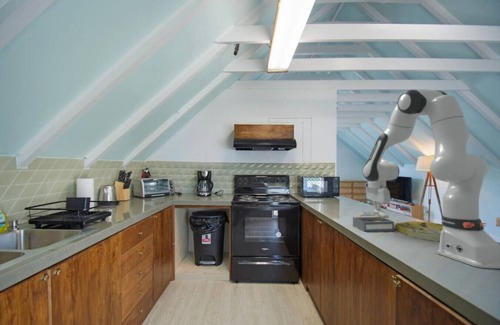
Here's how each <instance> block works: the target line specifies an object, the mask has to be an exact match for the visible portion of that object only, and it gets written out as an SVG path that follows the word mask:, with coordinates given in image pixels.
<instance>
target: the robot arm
mask: <svg viewBox="0 0 500 325" xmlns="http://www.w3.org/2000/svg"><path fill="white" fill-rule="evenodd" d="M420 116H428V118H429V122H430V126H431V130H432V133H433V134H432V135H433V138H434V154H433V155H434V157H433V160H432V161H431V163H430V166H429V171H430V173H431V175H432V176H433V178H435V179H436V180H438V181H442V182H445V183H448V186H447V188H446V191H445V193H444V194H443V196H442V216H441V224H442V225H443V229H442V231H441V235H440V242H439V247H438V249H437V251H436V253H437V254H438V255H441V256H443V257H446V258H449V259H452V260H455V261H458V262H460V263H464V264H467V265H469V266H472V267H475V268H483V269H500V244H499V243H498V242H497V241H496V240H495V239H494V238H493V237H491V235H490V234H489V233H487V232H486V231H485V227H487V222H482V220H481V219H480V194H481V190H482V185H483V182H484V179H485V176H486V175H487V174H488V172H489V164H488V162H487V161H486V160H485V159H484V158H482V157H480V156H478V155H475V154H472V153H471V154H470V153H467V142H468V140H469V138H470V135H469V134H470V133H469V130H468V126H467V123H466V119H465V115H464V112H463V109H462V107H461V105H460V103H459V101H458V100H457V98H456V97H455V96H454V95H451V94H448V93H446V92H445V91H443V90H437V89H436V90H433V89H426V88H424V89H409V90H405V91H403V92H402V93H401V94H400V95H399V96H398V98H397V103H396V105H395V107H394V109H393V112H392V113H391V115H390V119H389V121H388V125H387V127H386V128H385V130H384V131H383V132H382V133H381V134H380V135H379V136H378V137H377V139H376V141H375V143H374V146H373V148H372V150H371V152H370V155H369V157H368V160H367V161H366V163H365V164H364V166H363V168H362V176H363V177H364V178H365V179H366V180H367V182H366V183H364V187H365V197H366V198H365V199H366V200H369V201H372V202H373V204H374V210H375V209H377V210H380V209H381V207H382V205H384V204H390V203H391V194H390V190H389V188H388V187H387V181H393V180H397V179H398V177H399V175H400V167H399V166H398V164H397V163H395V162H393V161H390V160H387V159H386V158H385V157H384V154H385V152H386V151H387V149H389V148H390V147H392V146H394V145H397V144H400V143H403V142H405V141H407V140H409V138H411V135H412V133H413V131H414V128H415V125H416V122H417V118H419V117H420ZM381 210H382V209H381Z"/></svg>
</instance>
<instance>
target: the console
mask: <svg viewBox="0 0 500 325" xmlns="http://www.w3.org/2000/svg"><path fill="white" fill-rule="evenodd" d="M352 227H355V228H356V229H358V230H360V231H362V232H364V233H367V232H369V233H370V232H373V233H375V232H395V222H394V221H393V220H390V219H389V218H380V217H379V216H378V215H374V216H353V217H352Z"/></svg>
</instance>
